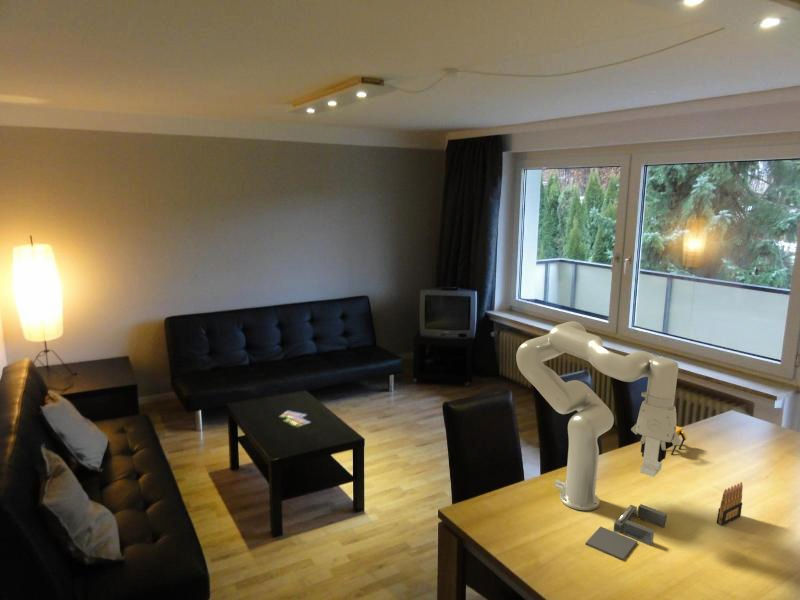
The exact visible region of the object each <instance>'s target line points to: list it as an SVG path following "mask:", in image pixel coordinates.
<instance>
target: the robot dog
mask: <svg viewBox="0 0 800 600" xmlns="http://www.w3.org/2000/svg"><path fill="white" fill-rule="evenodd" d="M676 433H677V435H678V437H679V436H681V438H682V440H681V443H680V444H679V447H678V450H682V446H683V445H684V442H685V441H686V440H687V439H688V438H687V435H686V434H685V431H684V430H683V427H681V426H677V425H676ZM671 441H673V439H672V440H671ZM677 446H678V445H675V446H673V448H672V451H671V453H670V455H671V456H674V453H675V452H676V448H677Z"/></svg>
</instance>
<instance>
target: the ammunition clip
mask: <svg viewBox="0 0 800 600" xmlns="http://www.w3.org/2000/svg"><path fill="white" fill-rule="evenodd" d="M742 499H743V482H742V481H740V482H739V483H736V484H734V485H731V486H730V487H727V489H726V488H725V489H724V491H723V493H722V497H721V500H720V506H719V508H718V510H717V511H718V512H717V517H716V524H717V525H719V526H721V527H724V526H725V525H728V524H729V523H731V522H734V521H735V520H737V519H739V518H741V514H742V506H743V502H742Z"/></svg>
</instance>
